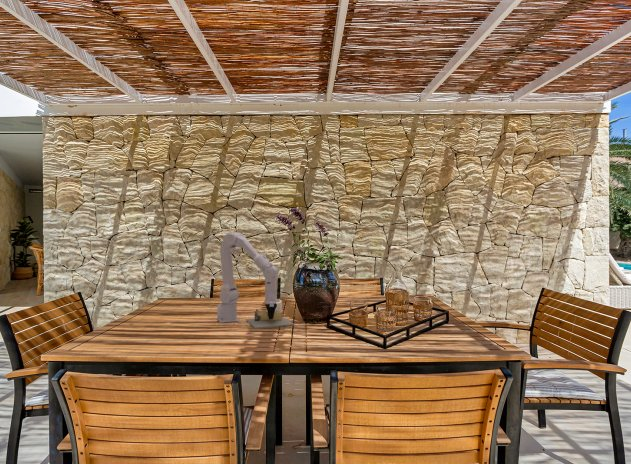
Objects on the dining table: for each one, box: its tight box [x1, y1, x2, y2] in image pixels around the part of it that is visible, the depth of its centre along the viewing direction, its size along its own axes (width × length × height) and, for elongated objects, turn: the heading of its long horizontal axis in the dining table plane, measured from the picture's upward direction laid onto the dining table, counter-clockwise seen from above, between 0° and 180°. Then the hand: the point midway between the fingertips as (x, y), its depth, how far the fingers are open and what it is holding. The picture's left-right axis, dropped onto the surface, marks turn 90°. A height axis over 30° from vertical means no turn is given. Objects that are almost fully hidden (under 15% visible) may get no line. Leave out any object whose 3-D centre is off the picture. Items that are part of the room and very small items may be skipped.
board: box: [245, 316, 295, 330], centre depth 226 cm, size 19×19×1 cm
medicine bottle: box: [266, 291, 283, 313], centre depth 246 cm, size 7×7×12 cm
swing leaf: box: [254, 310, 283, 320], centre depth 229 cm, size 3×13×4 cm, turn 99°
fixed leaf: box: [254, 309, 280, 321], centre depth 230 cm, size 13×3×5 cm, turn 112°
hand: (270, 318), depth 225 cm, fingers closed
